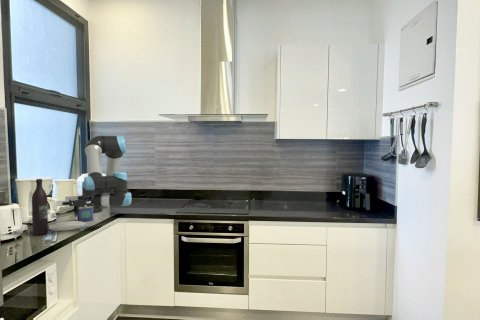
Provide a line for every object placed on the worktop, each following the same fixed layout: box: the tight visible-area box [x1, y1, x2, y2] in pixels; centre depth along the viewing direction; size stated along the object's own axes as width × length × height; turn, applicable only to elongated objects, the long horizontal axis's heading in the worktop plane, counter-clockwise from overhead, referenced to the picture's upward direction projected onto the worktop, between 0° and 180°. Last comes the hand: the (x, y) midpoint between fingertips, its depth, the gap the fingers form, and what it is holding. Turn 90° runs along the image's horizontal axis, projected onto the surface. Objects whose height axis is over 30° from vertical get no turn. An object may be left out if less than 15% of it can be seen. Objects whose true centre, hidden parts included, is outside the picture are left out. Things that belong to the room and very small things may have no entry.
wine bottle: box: [31, 178, 49, 236], centre depth 166 cm, size 7×7×30 cm
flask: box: [76, 205, 94, 223], centre depth 194 cm, size 9×3×11 cm, turn 135°
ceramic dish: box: [48, 220, 85, 232], centre depth 181 cm, size 18×18×1 cm
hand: (61, 201), depth 168 cm, fingers open, 13 cm apart
